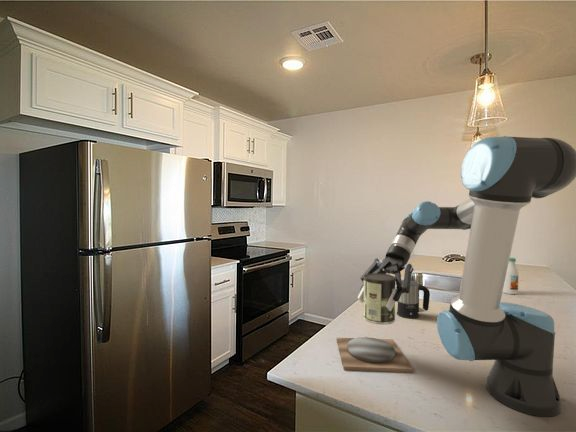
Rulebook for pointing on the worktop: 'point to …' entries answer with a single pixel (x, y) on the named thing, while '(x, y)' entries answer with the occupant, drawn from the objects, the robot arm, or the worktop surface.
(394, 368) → the mount board
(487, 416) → the worktop surface
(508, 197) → the robot arm
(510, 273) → the milk bottle
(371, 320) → the coffee can
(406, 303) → the milk frother
